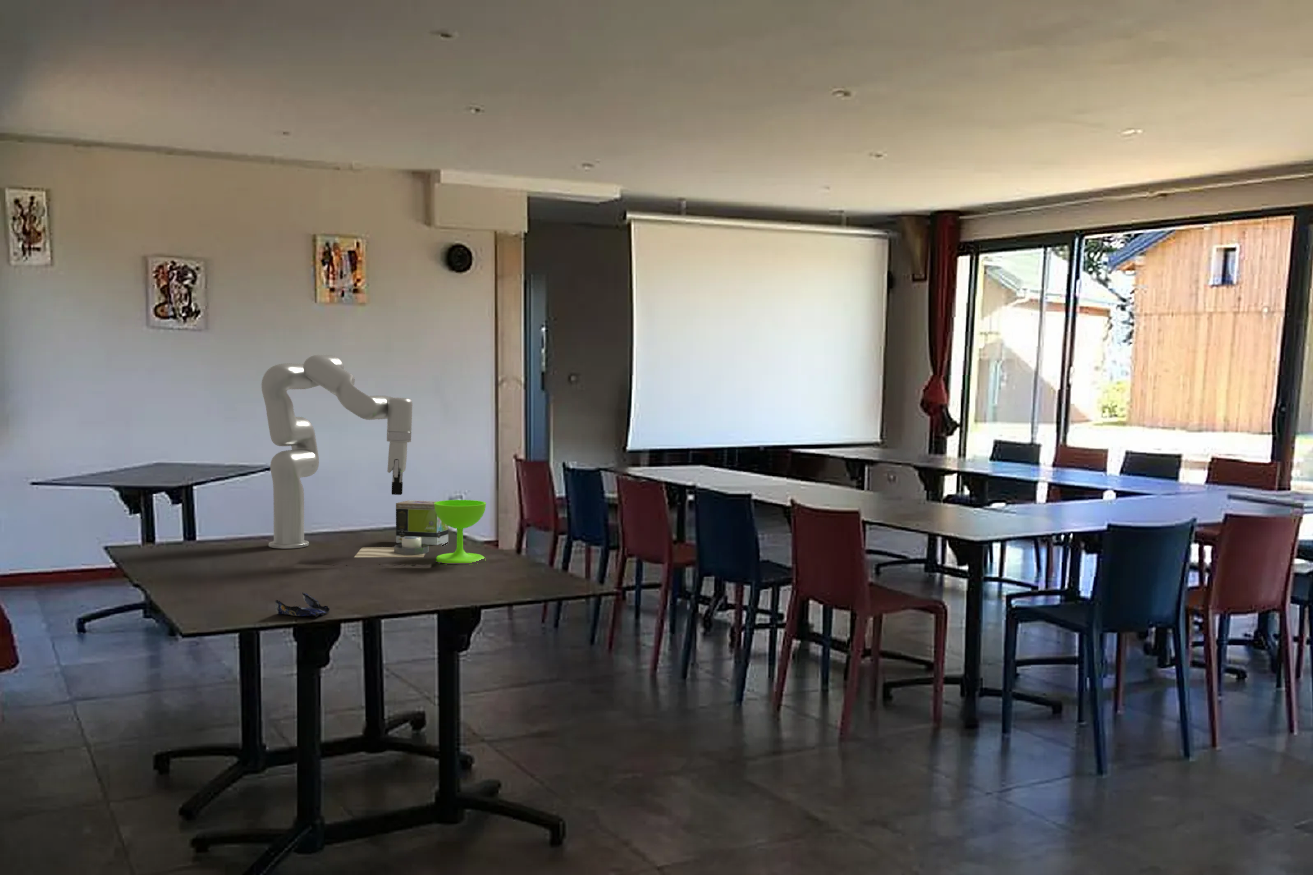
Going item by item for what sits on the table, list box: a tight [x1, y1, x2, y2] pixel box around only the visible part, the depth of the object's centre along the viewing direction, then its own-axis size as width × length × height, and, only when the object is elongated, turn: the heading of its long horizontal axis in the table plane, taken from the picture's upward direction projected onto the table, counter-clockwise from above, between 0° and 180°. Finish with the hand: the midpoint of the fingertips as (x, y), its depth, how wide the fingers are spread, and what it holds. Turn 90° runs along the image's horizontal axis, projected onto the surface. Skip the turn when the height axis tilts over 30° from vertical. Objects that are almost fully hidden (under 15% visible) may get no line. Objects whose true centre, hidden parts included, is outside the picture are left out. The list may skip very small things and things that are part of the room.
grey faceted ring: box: [393, 543, 430, 555], centre depth 346 cm, size 10×10×2 cm
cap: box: [401, 536, 421, 548], centre depth 346 cm, size 6×6×5 cm
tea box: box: [395, 499, 449, 546], centre depth 366 cm, size 15×10×15 cm, turn 77°
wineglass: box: [434, 499, 487, 563], centre depth 339 cm, size 16×16×18 cm
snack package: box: [274, 592, 330, 618], centre depth 262 cm, size 12×6×12 cm
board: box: [354, 546, 426, 558], centre depth 345 cm, size 18×21×1 cm
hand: (396, 494), depth 346 cm, fingers closed
